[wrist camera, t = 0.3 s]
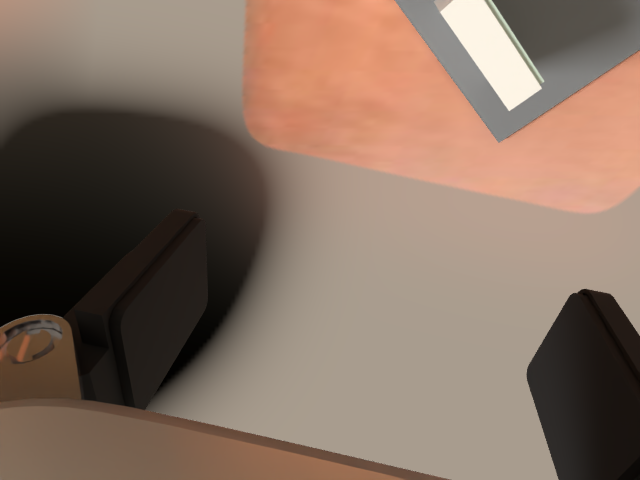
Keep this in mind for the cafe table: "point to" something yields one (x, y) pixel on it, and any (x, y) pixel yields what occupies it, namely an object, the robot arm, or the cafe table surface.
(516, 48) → the tile
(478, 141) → the cafe table surface
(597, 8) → the mat
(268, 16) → the cafe table surface
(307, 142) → the cafe table surface
